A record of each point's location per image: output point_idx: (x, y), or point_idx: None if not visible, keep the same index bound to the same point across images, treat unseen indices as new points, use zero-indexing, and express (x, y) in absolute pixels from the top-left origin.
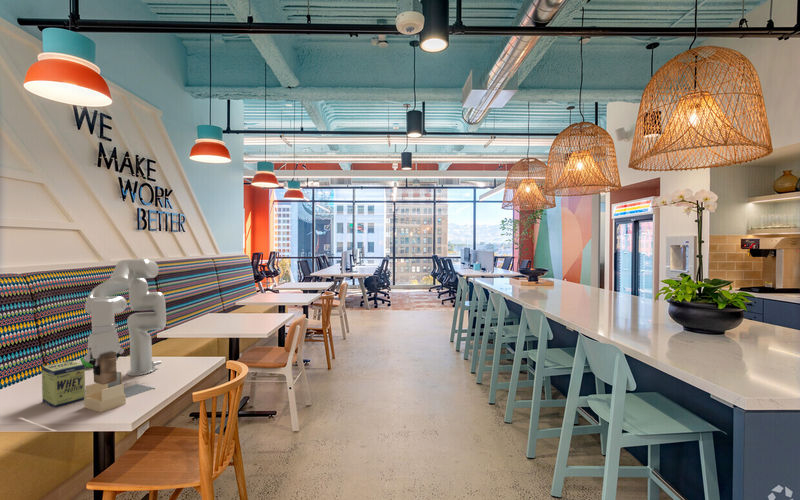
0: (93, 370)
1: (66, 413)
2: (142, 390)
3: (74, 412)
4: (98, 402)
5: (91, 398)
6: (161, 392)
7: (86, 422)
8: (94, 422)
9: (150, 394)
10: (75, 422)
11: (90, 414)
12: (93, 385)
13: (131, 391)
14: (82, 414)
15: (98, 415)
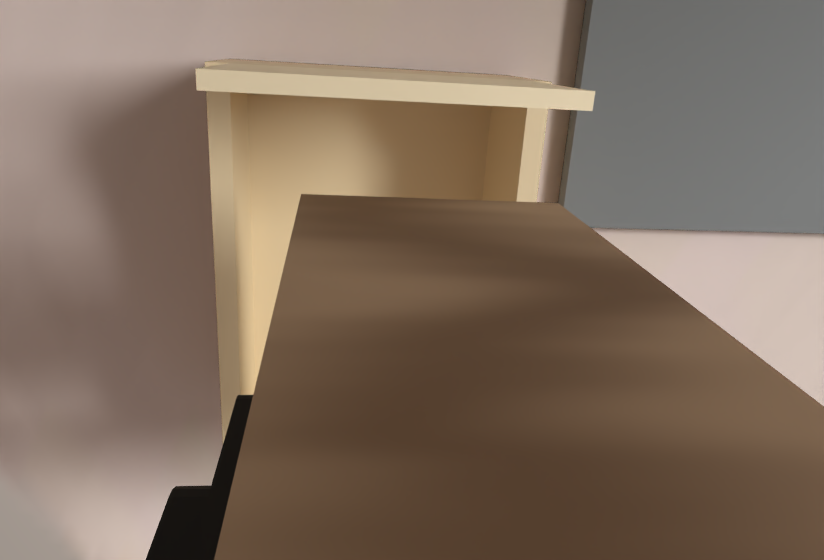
0: (157, 543)
1: (35, 17)
2: (817, 178)
3: (106, 85)
4: (223, 418)
5: (234, 225)
6: (815, 381)
7: (66, 491)
8: (107, 547)
9: (752, 335)
10: (2, 403)
11: (176, 326)
12: (334, 93)
13: (770, 78)
14: (131, 246)
15: (204, 423)
